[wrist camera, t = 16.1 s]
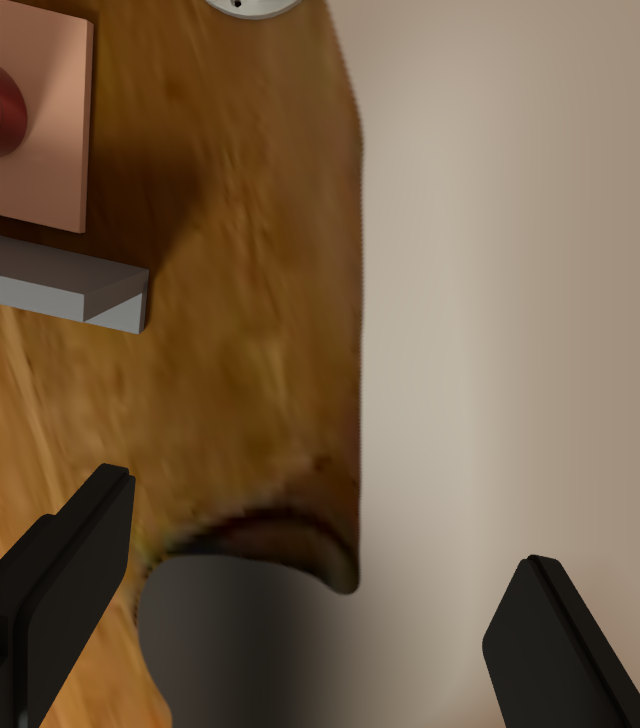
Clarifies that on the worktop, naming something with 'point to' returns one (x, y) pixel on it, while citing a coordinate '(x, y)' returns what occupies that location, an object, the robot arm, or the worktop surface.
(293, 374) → the worktop surface
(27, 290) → the screen
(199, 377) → the worktop surface
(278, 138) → the worktop surface
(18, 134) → the soda can
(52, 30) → the tile
